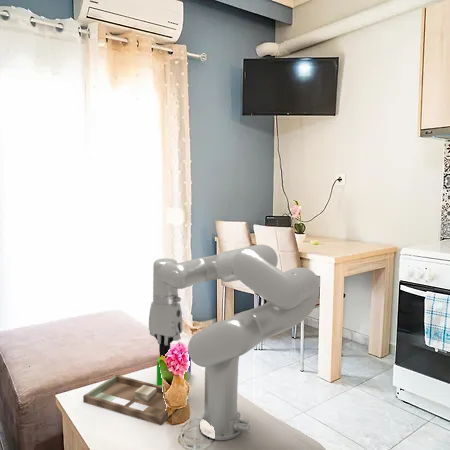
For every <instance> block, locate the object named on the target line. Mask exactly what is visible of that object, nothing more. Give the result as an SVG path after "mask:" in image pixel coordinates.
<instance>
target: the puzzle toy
mask: <svg viewBox="0 0 450 450" xmlns="http://www.w3.org/2000/svg"><path fill="white" fill-rule="evenodd" d="M159 360H160V357H159V358H158V360H157V361H156V385H159V386H162V378H161V373H160V367H159ZM189 361H190V366H189V368H188V371H187V372H185V374H184V379H185V380H186V381H189V380H190V379H189V378H190V376H191V374H192V372H191V371H192V369H191V368H192V364H191V363H192V360H191V358H190V356H189ZM162 387H163V386H162Z"/></svg>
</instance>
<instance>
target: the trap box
mask: <svg viewBox="0 0 450 450" xmlns="http://www.w3.org/2000/svg"><path fill="white" fill-rule="evenodd" d="M143 385H147V386H151V387H155V388H157V395H156V396H155V397H154V398H153V399H151V400H150V401H149V402H148V403H147V402H144V401H140V400H137V399H135V391H136V390H138V389H139V388H140V387H142V386H143ZM162 387H163V386H159V385H157V384H154V383H150V382H147V381H142V380H140V379H139V380H138V379H135V378H132V377H128V376H127V377H126V376H123V375H119V374H115V375H114V376H112V377H110V378H108V380H106V381H104V382H103V383H101V384H100V385H98V386H97V387H95V388H93V389H92V390H89V392H87V393H86V394H84V395H83V403H86V404H89V405H91V406H95V407H99V408H101V409H106V410H109V411H112V412H114V413H118V414H121V415H124V416H125V415H126V416H129V417H132V418H134V419H138V420H142V421H146V422H148V423H151V424H155V425H159V426H162V425H163V424H164V423H165V422H166V421H167V420H168V419H169V418H168V411H167V410H166V411H165V409H166V404H165V401H164V398H163V392H162ZM117 398H118V399H122V400H125V401H128V402H127V403H126V404H125V405H123V404H120V403H117V402H113V400H115V399H117ZM134 403H136V404H140V405H144V406H147V407H146V408H145V409H144V410H140V409H137V408H134V407H130V406H131V405H133V404H134Z"/></svg>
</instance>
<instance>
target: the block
mask: <svg viewBox="0 0 450 450" xmlns="http://www.w3.org/2000/svg"><path fill="white" fill-rule="evenodd" d="M156 395H157V388H155V387H151V386H147V385H143V386H142V387H140V388H139V389H138V390H136V391H135V399H137V400H140V401H144V402H147V403H148V402H149V401H150V400H151V399H153V398H154V397H155V396H156Z"/></svg>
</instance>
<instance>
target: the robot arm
mask: <svg viewBox="0 0 450 450" xmlns="http://www.w3.org/2000/svg"><path fill="white" fill-rule="evenodd" d="M278 261H279V260H278V255H277V252H276V251H275V249H274V248H273V247H271V246H269V245H266V244H255V245H250V246H245V247H242V248H241V247H239V248H235V249H231V250H226V251H221V252H218V254H215V255H210V256H204V257H198V258H194V259H189V260H186V261H183V262H182V261H181V262H178V261H177V260H176V259H174V258H173V259H172V258H158V259H156V260H155V261H154V262H153V268H152V269H153V270H152V272H153V275H152V277H153V278H152V279H153V280H152V281H153V282H152V291H153V292H152V302H151V304H150V308H149V316H148V331H149V335H150V336H152V337H154V338H155V340H157V345H159V346H158V347H159V349H158V350H159V358H160V357H161V355H163V356H165V354H166V353H167V352H168V350H169V349H170V350H171V343H172V342H174V341H175V342H177V341H180V340H181V334H182V332H183V327H184V326H183V314H182V313H183V312H182V308H181V303H180V302H181V300H182V299H181V297H179V294H178V293H179V292H178V291H179V290H183V289H186V288H189V287H192V286H194V285H198V284H201V283H204V282H211V281H214V280H221V281H223V282H224V283H231V282H236V281H240V282H241V283H242V284H244V286H246V287H247V288H249V289H250V290H251V291H252V292H253V293H255V294H256V295H258V296H259V297H261V298H262V299H264V300H265V301H267V302H265V303H264V304H261V305H259V306H256V307H254V308H250V309H248V310H244V311H240V312H239V313H237V314H235V315H233V316H231V317H229V318H227V319H223V320H218V321H216V322H214V323H212V324H211V325H208V326H207V327H205V328H203V329H201V330H199V331H198V332H196V333H194V334H193V335H192V337H191V338H190V340H189V341H188V346H187V352H188V354H189V356H190V358H191V362H192V363H194V364H195V365H196V366H199V367H202V368H204V411H203V412H204V415H203V417H202V418H201V419H204V420H206V421H207V422H208V423H209V424H210V425H212V426H213V427H214V430H215V441H227V440H228V441H229V440H232V439H233V438H236V437H238V436H239V435H240V434H241V433H242V432H245V433H249V432H250V429H251V425H250V421H249V419H244V418H242V417H241V412H240V411H238V388H239V387H238V386H239V385H238V384H239V383H238V381H239V362H240V361H239V360H240V357H241V356H243V355H245V354H247V353H248V352H250V351H251V350H252V349H254V348H255V347H257V346H258V345H259V344H261V343H262V342H263V341H265V340H267V339H269V338H272V337H274V336H276V335H280V334H281V333H284V332H285V331H288V330H290V329H292V328H294V327H296V326H298V325H299V324H300V323H302V322H303V321H304V320H306V319H307V318H308V317H309V315H310V314H311V313H312V312H313V311H314V309H315V307H316V305H317V303H318V300H319V296H320V282H319V279H318V276H317V274H316V273H315V272H314V271H313V270H312V269H310V268H306V267H295V268H292V269H288V270H286V271H282V270H280V269H279V268H277V266H278ZM178 289H179V290H178Z"/></svg>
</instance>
